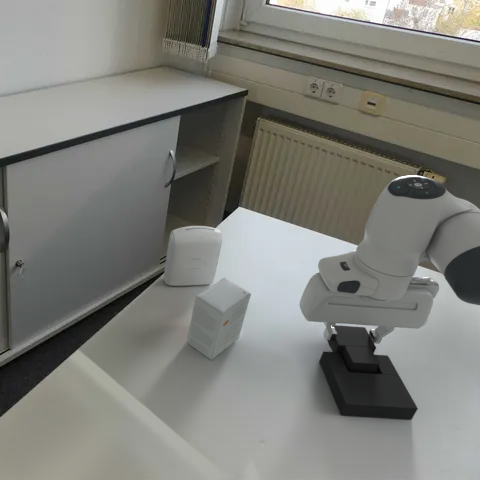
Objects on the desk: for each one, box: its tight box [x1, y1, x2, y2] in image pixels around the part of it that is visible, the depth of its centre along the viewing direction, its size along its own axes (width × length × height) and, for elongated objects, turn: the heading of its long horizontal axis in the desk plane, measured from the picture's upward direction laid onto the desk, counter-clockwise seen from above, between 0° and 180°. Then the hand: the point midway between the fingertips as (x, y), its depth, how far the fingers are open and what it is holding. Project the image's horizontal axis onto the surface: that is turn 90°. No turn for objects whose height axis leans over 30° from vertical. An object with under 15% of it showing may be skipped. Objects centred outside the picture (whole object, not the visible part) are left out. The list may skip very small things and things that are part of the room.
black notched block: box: [318, 350, 418, 421], centre depth 86 cm, size 11×11×3 cm
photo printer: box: [162, 225, 223, 287], centre depth 104 cm, size 10×4×12 cm, turn 99°
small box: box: [186, 277, 252, 361], centre depth 90 cm, size 8×6×10 cm
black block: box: [326, 324, 379, 374], centre depth 91 cm, size 9×6×3 cm
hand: (350, 339), depth 92 cm, fingers closed on black block, 6 cm apart
